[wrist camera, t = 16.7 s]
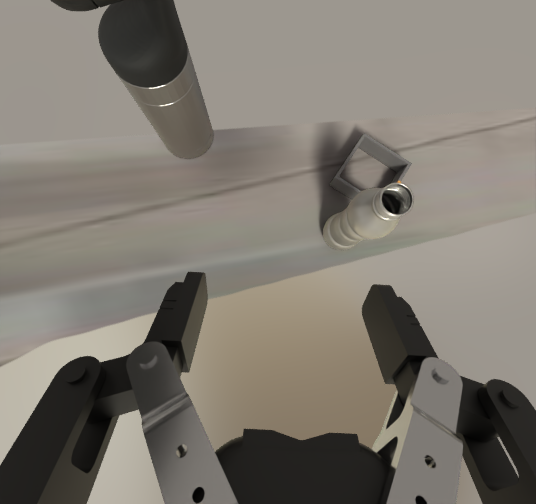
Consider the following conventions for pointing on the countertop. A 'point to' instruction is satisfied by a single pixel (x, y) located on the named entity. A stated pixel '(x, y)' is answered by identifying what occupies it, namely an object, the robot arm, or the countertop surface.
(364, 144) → the socket collar
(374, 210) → the silver metal bottle
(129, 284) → the countertop surface
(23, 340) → the countertop surface
